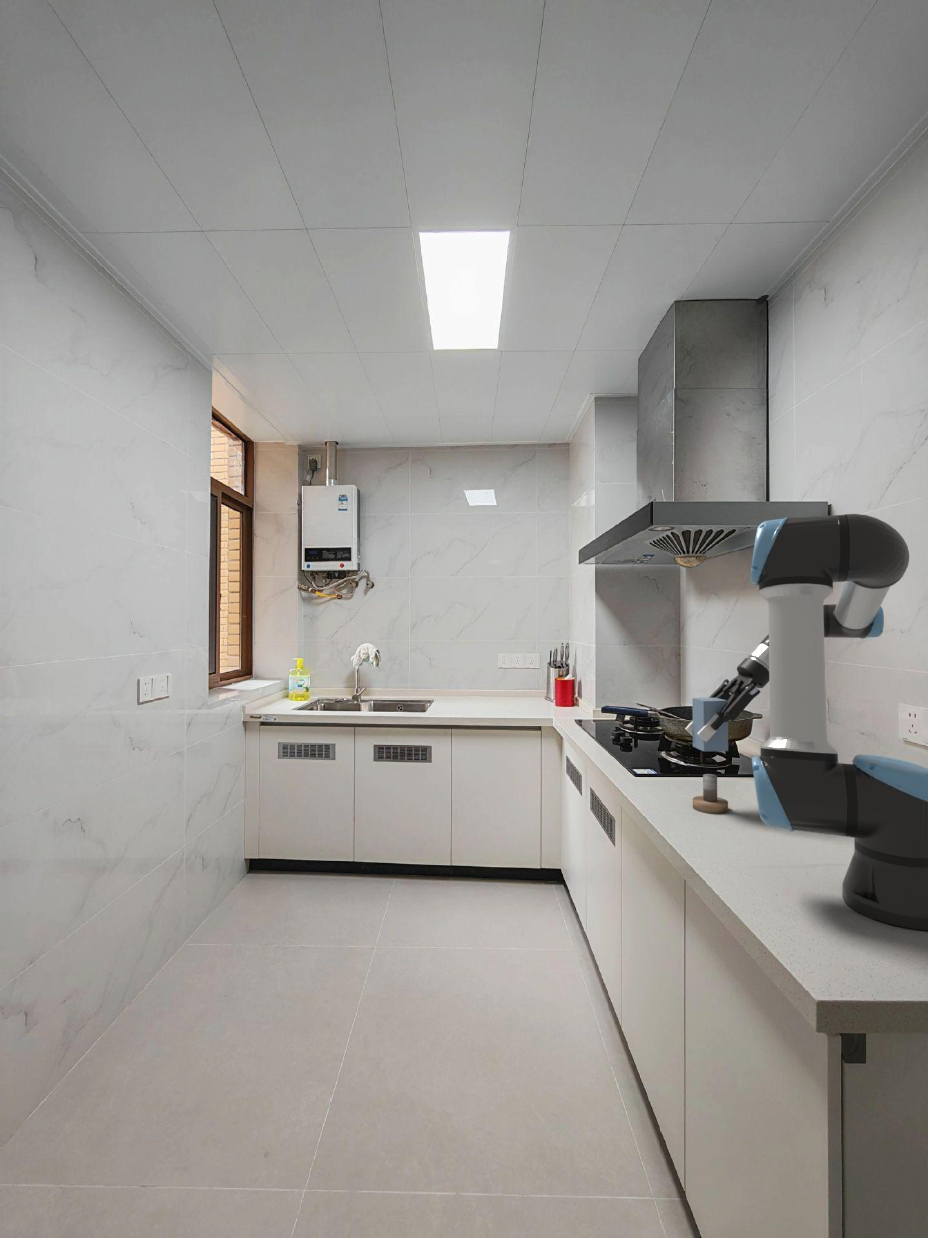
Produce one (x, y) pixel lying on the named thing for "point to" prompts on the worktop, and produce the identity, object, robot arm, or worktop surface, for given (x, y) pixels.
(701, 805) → the post stand
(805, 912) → the worktop surface
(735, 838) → the worktop surface
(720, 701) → the upright blue pillar
